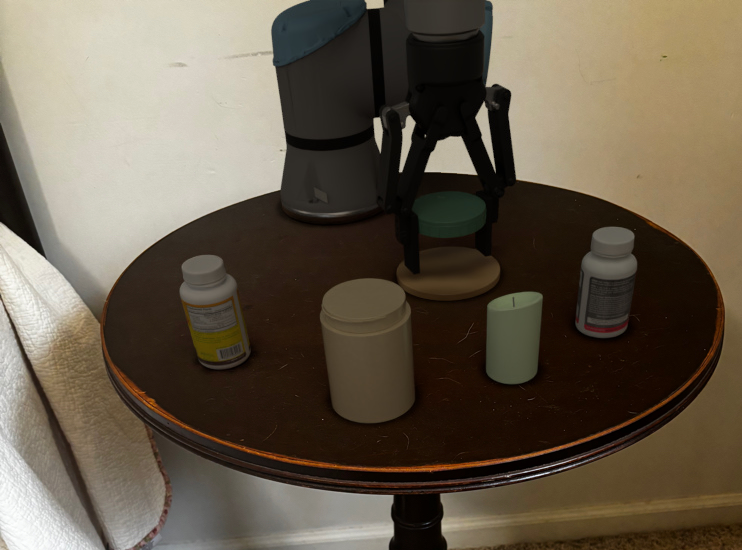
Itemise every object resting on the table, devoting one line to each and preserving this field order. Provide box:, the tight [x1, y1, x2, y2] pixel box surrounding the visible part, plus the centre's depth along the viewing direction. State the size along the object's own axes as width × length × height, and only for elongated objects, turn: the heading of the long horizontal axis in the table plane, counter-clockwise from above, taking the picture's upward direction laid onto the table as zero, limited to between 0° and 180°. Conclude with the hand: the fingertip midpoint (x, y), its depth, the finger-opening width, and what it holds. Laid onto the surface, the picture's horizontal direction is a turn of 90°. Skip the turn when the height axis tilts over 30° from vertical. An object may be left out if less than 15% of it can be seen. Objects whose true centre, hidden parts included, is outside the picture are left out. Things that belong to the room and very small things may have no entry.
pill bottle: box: [575, 226, 638, 339], centre depth 80 cm, size 5×5×10 cm
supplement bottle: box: [179, 254, 252, 370], centre depth 79 cm, size 6×6×10 cm
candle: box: [485, 291, 544, 385], centre depth 75 cm, size 5×5×8 cm
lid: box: [412, 190, 486, 239], centre depth 88 cm, size 8×8×2 cm
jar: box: [319, 277, 416, 424], centre depth 72 cm, size 8×8×10 cm
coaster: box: [396, 246, 501, 302], centre depth 93 cm, size 12×12×1 cm
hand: (448, 260), depth 92 cm, fingers closed on lid, 8 cm apart
